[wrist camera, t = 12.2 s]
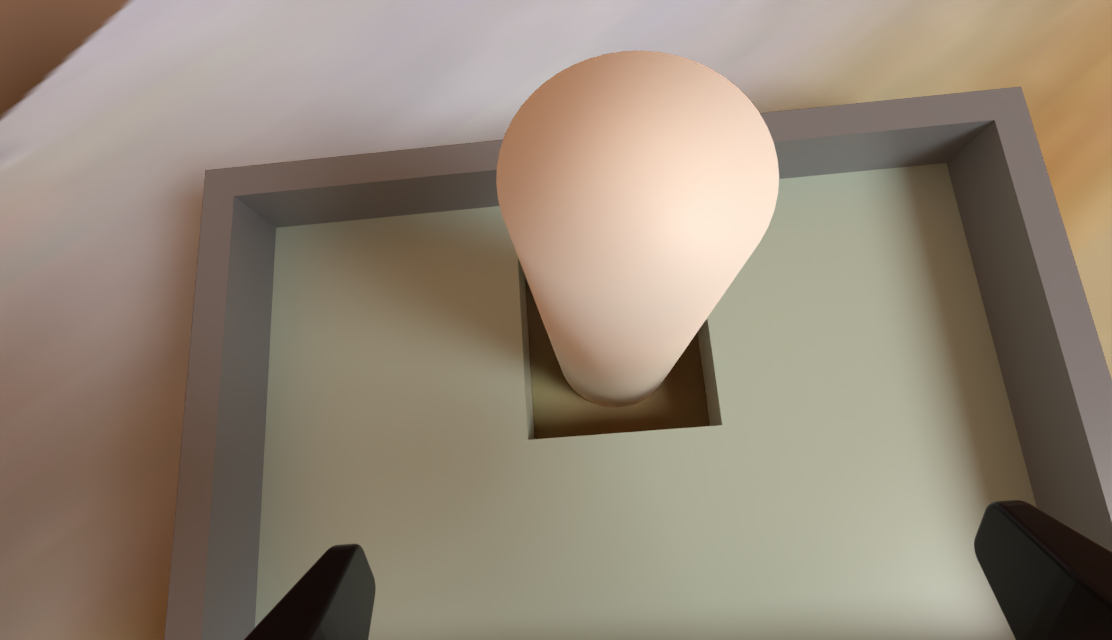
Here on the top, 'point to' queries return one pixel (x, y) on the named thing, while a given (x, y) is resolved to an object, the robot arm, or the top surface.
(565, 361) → the peg
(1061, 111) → the top surface
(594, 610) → the tray
